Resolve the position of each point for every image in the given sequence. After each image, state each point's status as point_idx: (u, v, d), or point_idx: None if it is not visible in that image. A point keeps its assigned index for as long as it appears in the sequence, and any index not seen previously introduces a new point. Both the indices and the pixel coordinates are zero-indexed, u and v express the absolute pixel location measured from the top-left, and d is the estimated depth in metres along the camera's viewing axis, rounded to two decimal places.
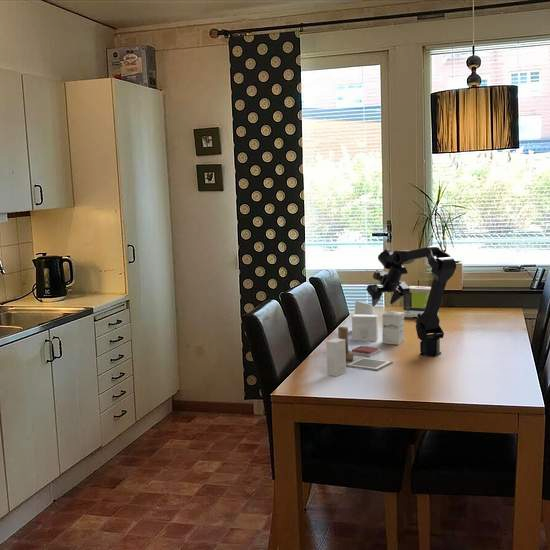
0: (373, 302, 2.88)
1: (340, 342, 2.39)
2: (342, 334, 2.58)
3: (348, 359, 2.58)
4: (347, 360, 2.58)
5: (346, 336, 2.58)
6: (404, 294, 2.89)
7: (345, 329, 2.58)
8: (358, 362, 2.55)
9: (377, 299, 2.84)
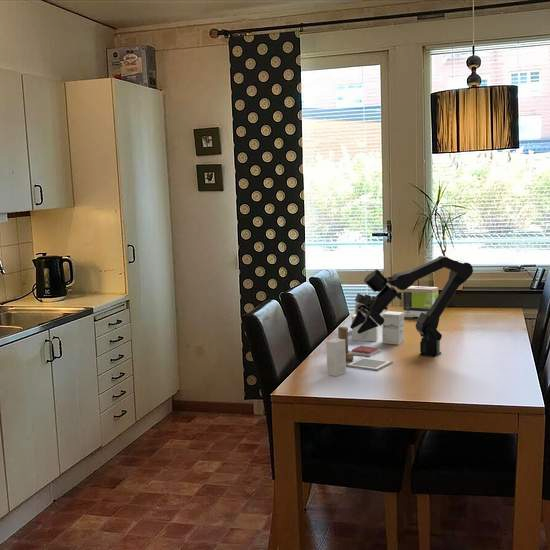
0: (363, 329, 2.55)
1: (340, 342, 2.39)
2: (342, 334, 2.58)
3: (348, 359, 2.58)
4: (347, 360, 2.58)
5: (346, 336, 2.58)
6: None
7: (345, 329, 2.58)
8: (358, 362, 2.55)
9: None
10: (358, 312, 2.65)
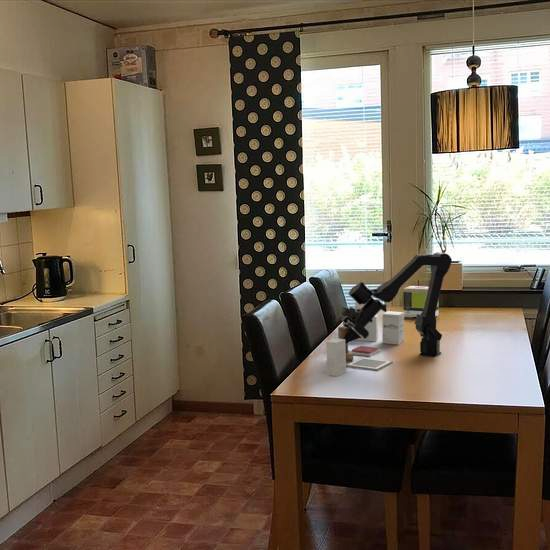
0: (346, 340, 2.57)
1: (340, 342, 2.39)
2: (342, 334, 2.58)
3: (348, 359, 2.58)
4: (347, 360, 2.58)
5: None
6: None
7: (345, 329, 2.58)
8: (358, 362, 2.55)
9: None
10: (345, 326, 2.62)
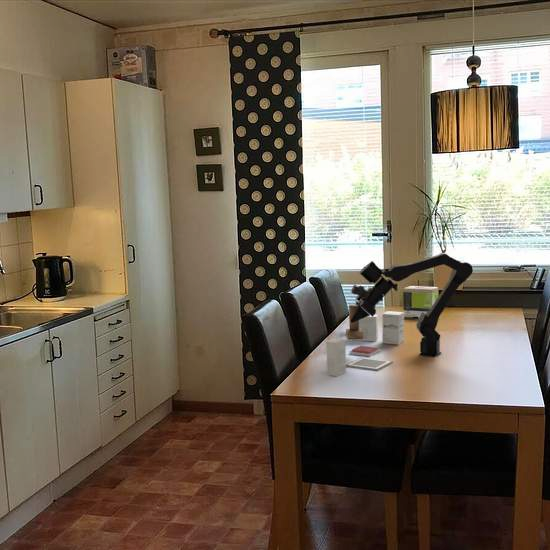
0: (356, 318, 2.62)
1: (340, 342, 2.39)
2: (352, 312, 2.63)
3: (358, 336, 2.63)
4: (357, 337, 2.63)
5: None
6: None
7: (355, 307, 2.63)
8: (358, 362, 2.55)
9: None
10: (357, 304, 2.67)
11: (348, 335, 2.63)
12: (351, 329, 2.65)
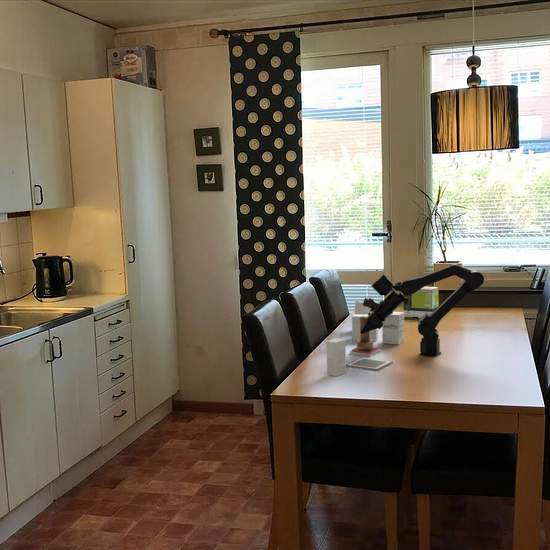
0: (365, 330, 2.67)
1: (340, 342, 2.39)
2: (362, 323, 2.68)
3: (367, 347, 2.68)
4: (366, 348, 2.68)
5: None
6: None
7: (365, 318, 2.68)
8: (358, 362, 2.55)
9: (376, 328, 2.65)
10: (369, 316, 2.72)
11: (358, 346, 2.68)
12: (361, 340, 2.69)
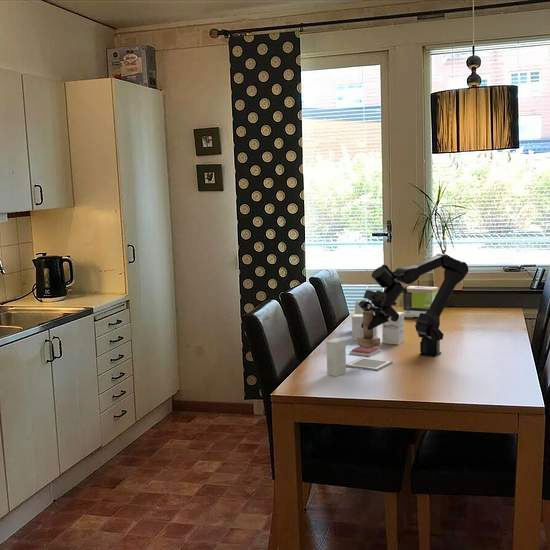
0: (373, 325, 2.50)
1: (340, 342, 2.39)
2: (369, 319, 2.50)
3: (375, 344, 2.51)
4: (375, 345, 2.51)
5: None
6: None
7: (371, 313, 2.50)
8: (358, 362, 2.55)
9: None
10: (368, 310, 2.54)
11: (367, 343, 2.49)
12: (367, 337, 2.51)
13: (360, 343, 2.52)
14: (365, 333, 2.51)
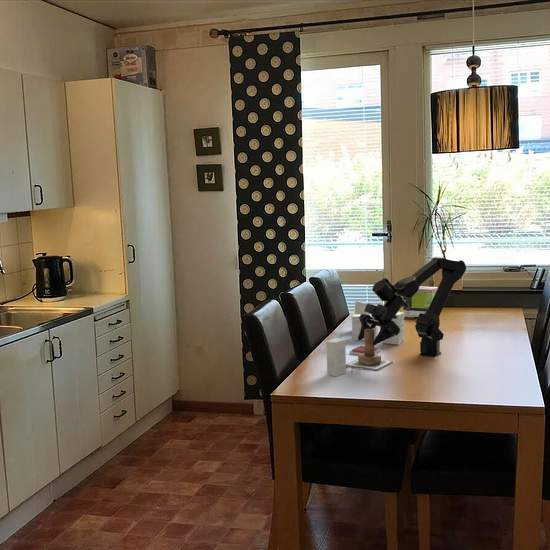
0: (379, 340, 2.47)
1: (340, 342, 2.39)
2: (370, 337, 2.50)
3: (377, 362, 2.51)
4: (376, 363, 2.51)
5: (373, 338, 2.51)
6: None
7: (373, 331, 2.50)
8: (358, 362, 2.55)
9: None
10: (364, 323, 2.57)
11: (368, 361, 2.49)
12: (368, 355, 2.51)
13: (361, 361, 2.52)
14: (366, 351, 2.51)
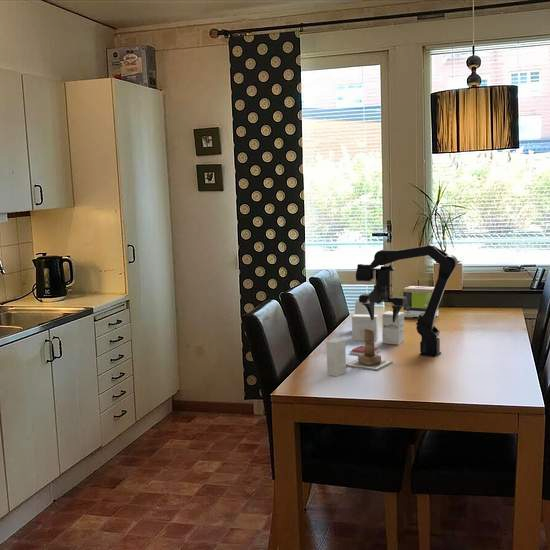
0: (396, 316, 2.69)
1: (340, 342, 2.39)
2: (370, 337, 2.50)
3: (377, 362, 2.51)
4: (376, 363, 2.51)
5: (373, 338, 2.51)
6: None
7: (373, 331, 2.50)
8: (358, 362, 2.55)
9: None
10: (369, 305, 2.72)
11: (368, 361, 2.49)
12: (368, 355, 2.51)
13: (361, 361, 2.52)
14: (366, 351, 2.51)
